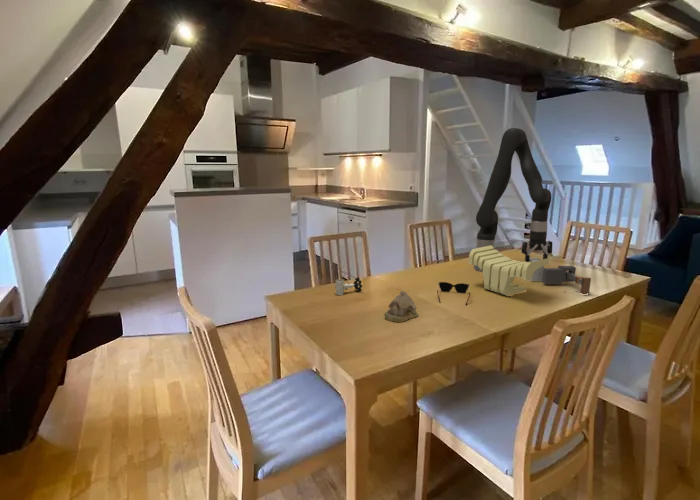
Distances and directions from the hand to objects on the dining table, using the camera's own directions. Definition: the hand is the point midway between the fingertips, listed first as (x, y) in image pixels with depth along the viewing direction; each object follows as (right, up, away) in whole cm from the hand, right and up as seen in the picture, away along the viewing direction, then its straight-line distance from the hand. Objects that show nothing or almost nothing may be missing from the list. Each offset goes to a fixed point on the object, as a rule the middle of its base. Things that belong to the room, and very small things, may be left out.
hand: (535, 261), depth 198 cm
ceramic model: (-73, -20, -42) cm, 86 cm away
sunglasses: (-47, -16, -23) cm, 55 cm away
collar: (+8, -10, -6) cm, 14 cm away
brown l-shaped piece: (+9, -12, -11) cm, 18 cm away
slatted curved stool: (-21, -13, -14) cm, 28 cm away
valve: (-94, -14, -15) cm, 96 cm away
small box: (0, -9, +2) cm, 10 cm away
